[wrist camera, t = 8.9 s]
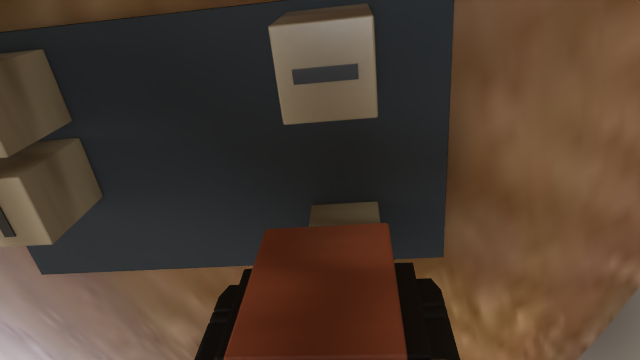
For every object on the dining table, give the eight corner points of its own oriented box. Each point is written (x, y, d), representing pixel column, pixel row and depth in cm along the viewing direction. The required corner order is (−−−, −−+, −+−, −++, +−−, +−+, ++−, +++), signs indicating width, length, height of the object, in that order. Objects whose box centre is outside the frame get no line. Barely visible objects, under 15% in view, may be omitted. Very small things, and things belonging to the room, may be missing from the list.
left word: (45, 200, 26) (-19, 249, 21) (-26, 56, 22) (-123, 80, 17) (103, 196, 26) (51, 246, 21) (43, 48, 21) (-38, 71, 17)
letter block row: (318, 256, 27) (312, 316, 22) (285, 12, 20) (266, 26, 15) (380, 253, 26) (386, 313, 22) (368, 2, 19) (373, 14, 15)
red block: (283, 316, 15) (254, 466, 11) (264, 228, 13) (220, 363, 9) (391, 313, 15) (409, 468, 10) (388, 221, 13) (408, 360, 8)
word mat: (45, 271, 29) (41, 274, 29) (-79, 41, 22) (-86, 42, 22) (442, 253, 26) (443, 257, 26) (453, -19, 19) (455, -19, 19)
